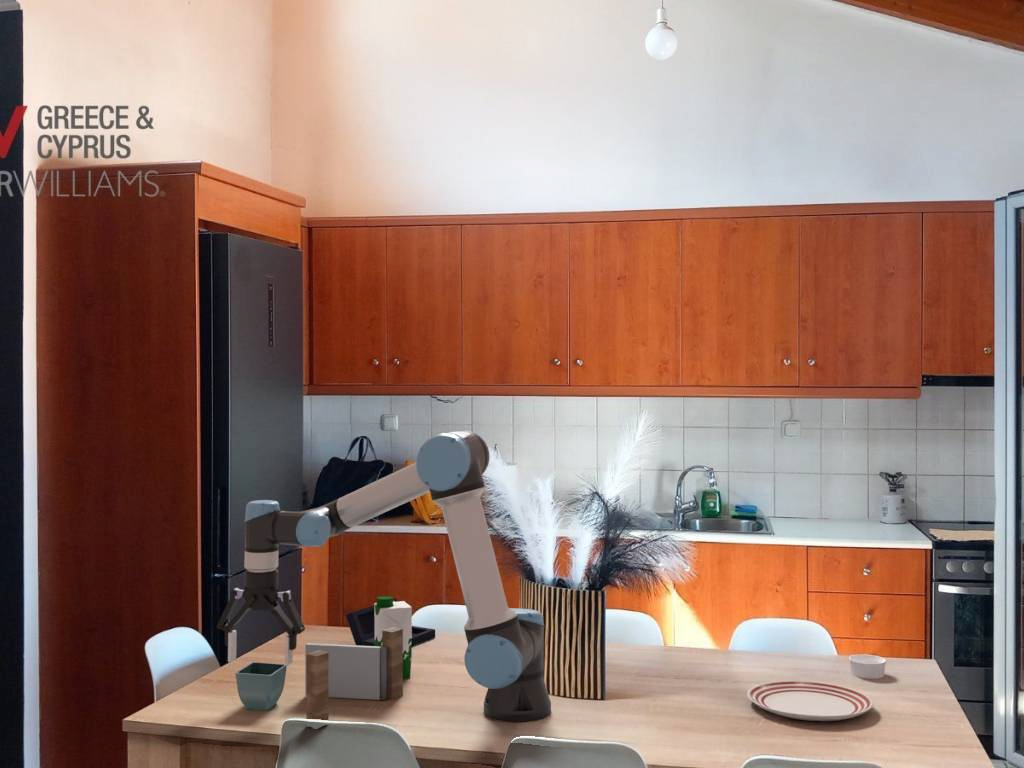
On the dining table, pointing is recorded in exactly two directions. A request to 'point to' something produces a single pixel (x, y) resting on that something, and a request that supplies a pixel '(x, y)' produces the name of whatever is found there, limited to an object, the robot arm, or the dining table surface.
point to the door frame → (320, 674)
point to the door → (354, 670)
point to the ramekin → (867, 666)
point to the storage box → (365, 628)
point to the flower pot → (260, 684)
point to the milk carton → (395, 625)
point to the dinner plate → (810, 700)
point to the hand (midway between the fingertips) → (260, 662)
